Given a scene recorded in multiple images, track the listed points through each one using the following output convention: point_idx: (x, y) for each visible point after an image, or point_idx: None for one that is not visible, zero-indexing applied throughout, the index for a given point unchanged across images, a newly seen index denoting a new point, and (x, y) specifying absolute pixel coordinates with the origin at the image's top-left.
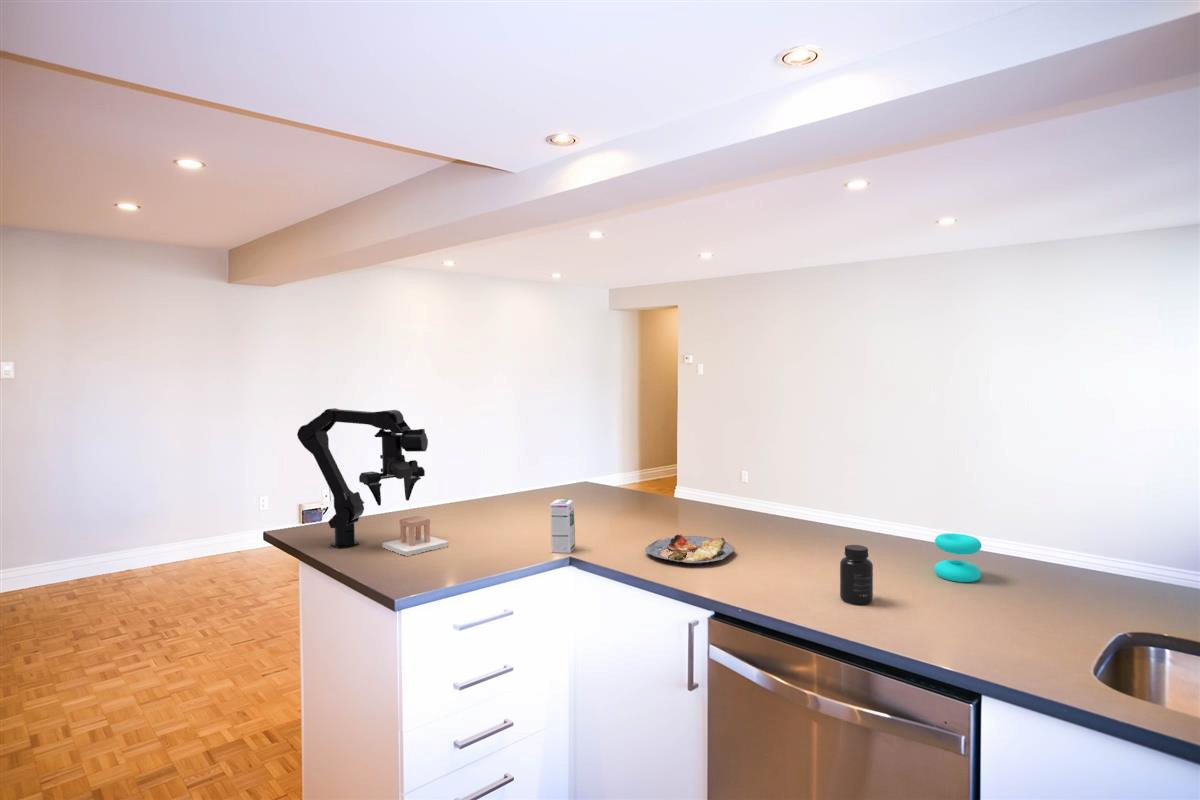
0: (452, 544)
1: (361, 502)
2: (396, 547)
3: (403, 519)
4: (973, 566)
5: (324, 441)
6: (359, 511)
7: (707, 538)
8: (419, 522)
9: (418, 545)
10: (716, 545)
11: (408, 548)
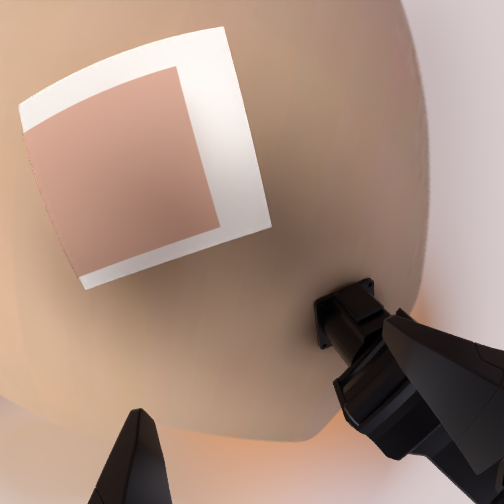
0: (9, 138)
1: (377, 420)
2: (239, 114)
3: (193, 214)
4: None
5: None
6: (377, 376)
7: None
8: (101, 93)
9: None
10: None
11: (197, 66)
